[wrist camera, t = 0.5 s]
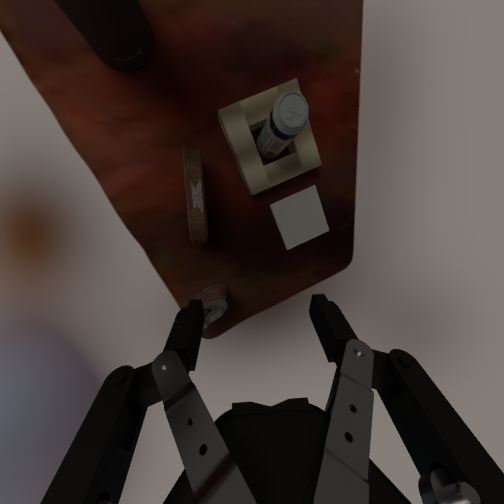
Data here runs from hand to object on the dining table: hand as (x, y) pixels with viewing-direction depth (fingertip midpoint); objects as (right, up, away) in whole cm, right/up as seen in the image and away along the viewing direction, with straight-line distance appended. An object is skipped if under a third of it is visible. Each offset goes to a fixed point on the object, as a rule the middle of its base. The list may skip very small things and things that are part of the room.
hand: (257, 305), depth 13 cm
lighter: (-9, -5, +25) cm, 27 cm away
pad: (+10, +11, +24) cm, 28 cm away
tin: (-10, +14, +21) cm, 27 cm away
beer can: (+3, +24, +21) cm, 32 cm away
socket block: (+3, +24, +21) cm, 32 cm away
